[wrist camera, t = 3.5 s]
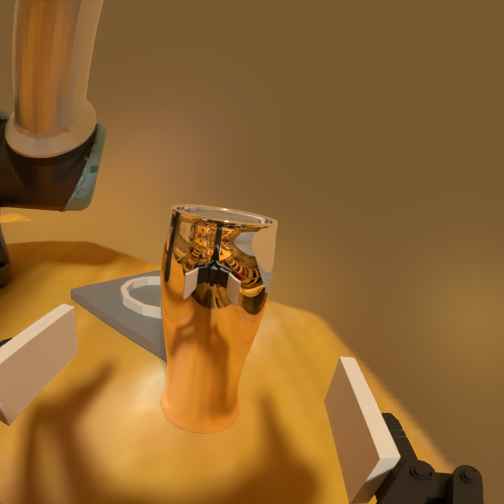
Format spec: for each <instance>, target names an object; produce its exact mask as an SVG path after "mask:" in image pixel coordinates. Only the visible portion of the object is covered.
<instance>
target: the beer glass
mask: <svg viewBox="0 0 504 504" xmlns="http://www.w3.org/2000/svg"><path fill="white" fill-rule="evenodd" d="M277 225H278V222H277V221H276V220H274V219H271V218H268V217H265V216H261V215H258V214H254V213H249V212H244V211H239V210H233V209H227V208H220V207H211V206H202V205H174V206H172V207H171V214H170V220H169V225H168V229H167V234H166V239H165V245H164V251H163V257H162V266H161V276H160V307H161V319H162V327H163V334H164V341H165V348H166V356H167V372H166V373H167V377H166V382H165V386H164V390H163V393H162V397H161V408H162V411H163V414H164V415H165V417H166V418H167V419H168V420H169V421H170V422H171V423H172V424H174V425H175V426H177V427H179V428H181V429H184V430H186V431H190V432H194V433H215V432H219V431H222V430H224V429H226V428H228V427H230V426H231V425H232V424H233V423H234V422H235V420H236V419H237V417H238V413H239V397H238V386H239V379H240V375H241V371H242V368H243V366H244V363H245V360H246V358H247V355H248V353H249V351H250V348H251V346H252V343H253V341H254V338H255V336H256V333H257V331H258V328H259V325H260V322H261V319H262V316H263V313H264V310H265V307H266V302H267V298H268V293H269V289H270V283H271V276H272V270H273V262H274V261H273V260H274V252H275V241H276V230H277Z"/></svg>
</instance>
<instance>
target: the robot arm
mask: <svg viewBox="0 0 504 504" xmlns="http://www.w3.org/2000/svg"><path fill="white" fill-rule="evenodd" d="M102 4H103V0H16V5H15V15H14V29H13V95H14V109H15V111H14V113H13V114H12V115H10V113H9V112H8V111H5V110H0V207H11V208H25V209H39V210H53V211H60V212H65V211H74V210H75V211H81V210H84V209H86V208H87V207H88V206H89V205H90V203H91V200H92V197H93V192H94V188H95V183H96V179H97V174H98V169H99V165H100V161H101V157H102V153H103V148H104V144H105V139H106V134H107V128H106V127H105V126H104V125H101V124H99V123H96V112H95V110H94V108H93V107H92V105H91V104H90V103H89V102H88V101H86V94H87V86H88V78H89V71H90V64H91V57H92V52H93V46H94V41H95V36H96V31H97V26H98V21H99V16H100V12H101V8H102ZM11 277H12V271H11V260H10V257H9V253H8V250H7V247H6V244H5V241H4V237H3V234H2V230H1V226H0V288H1V287H3V286H4V285H5V284H7V283H8V282H9V281H10V279H11ZM77 354H78V347H77V335H76V321H75V307H74V306H70V305H67V304H61V305H60V306H58V307H57V308H55V309H54V310H52V311H51V312H50V313H48V314H47V315H45V316H44V317H42V318H41V319H39V320H38V321H37V322H35V323H34V324H32V325H31V326H29V327H28V328H27V329H25V330H24V331H22V332H21V333H20V334H18V335H17V336H15V337H14V338H9V339H6V340H3V341H1V342H0V421H2V422H3V423H5V424H7V425H8V426H9V425H10V424H11V423H12V422H13V421H14V420H15V419H16V418H17V417H18V416H19V414H20V413H21V412H22V411H23V410H24V409H25V408H26V407H27V406H28V405H29V404H30V403H31V401H32V400H33V399H34V398H35V397H36V396H37V395H38V394H39V393H40V392H41V391H42V390H43V389H44V388H45V387H46V385H47V384H48V383H49V382H50V381H51V380H52V379H53V378H54V377H55V376H56V375H57V374H58V373H59V372H60V371H61V370H62V369H63V368H64V367H65V366H66V365H67V364H68V363H69V362H70V361H71V360H72V359H73V358H74V357H75V356H76V355H77ZM324 402H325V406H326V410H327V414H328V418H329V422H330V426H331V430H332V434H333V438H334V442H335V446H336V450H337V454H338V458H339V462H340V466H341V470H342V475H343V479H344V483H345V487H346V492H347V496H348V500H349V504H359V503H368V502H369V501H370V500H371V498H372V497H373V496H374V495H375V496H376V499H377V503H376V504H483V485H482V477H481V474H480V473H479V471H478V470H477V469H475V468H474V467H472V466H469V465H461V466H459V467H457V468H456V469H455V470H454V472H453V473H452V474H447V473H437V472H435V471H434V469H433V468H432V466H431V465H430V464H428V463H426V462H424V461H420V460H418V459H417V457H416V455H415V453H414V450H413V448H412V446H411V444H410V442H409V440H408V438H407V437H406V434H405V432H404V430H402V429H403V428H402V426H401V425H400V423H399V421H398V420H397V419H396V418H395V417H394V416H393V415H392V414H391V413H381V412H380V410H379V408H378V406H377V404H376V402H375V400H374V397H373V395H372V393H371V391H370V389H369V387H368V385H367V383H366V381H365V379H364V377H363V374H362V372H361V370H360V368H359V366H358V364H357V362H356V360H355V358H350V357H339V360H338V363H337V366H336V369H335V372H334V375H333V378H332V381H331V384H330V387H329V389H328V392H327V395H326V398H325V400H324Z"/></svg>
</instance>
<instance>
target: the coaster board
mask: <svg viewBox="0 0 504 504" xmlns="http://www.w3.org/2000/svg"><path fill="white" fill-rule="evenodd" d="M160 276H161V270H158V271H153V272H148V273H144V274H139V275H135V276H130V277H125V278H121V279H116V280H112V281H107V282H102V283H98V284H93V285H89V286H84V287H79V288H75V289H71V298H72V299H73V300H74V301H76V302H77V303H78V304H80V305H81V306H83V307H84V308H85V309H87V310H88V311H89V312H91V313H92V314H94V315H95V316H97V317H98V318H99V319H101V320H102V321H104V322H105V323H107V324H108V325H110V326H111V327H112V328H114V329H115V330H117V331H118V332H120V333H121V334H123V335H125V336H126V337H128V338H129V339H131V340H132V341H134V342H135V343H137V344H139V345H140V346H142V347H143V348H145V349H147V350H148V351H150V352H151V353H153V354H155V355H156V356H158V357H160V358H161V359H163V360H165V361H166V362H167V356H166V348H165V341H164V334H163V327H162V319H161V307H160Z"/></svg>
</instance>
